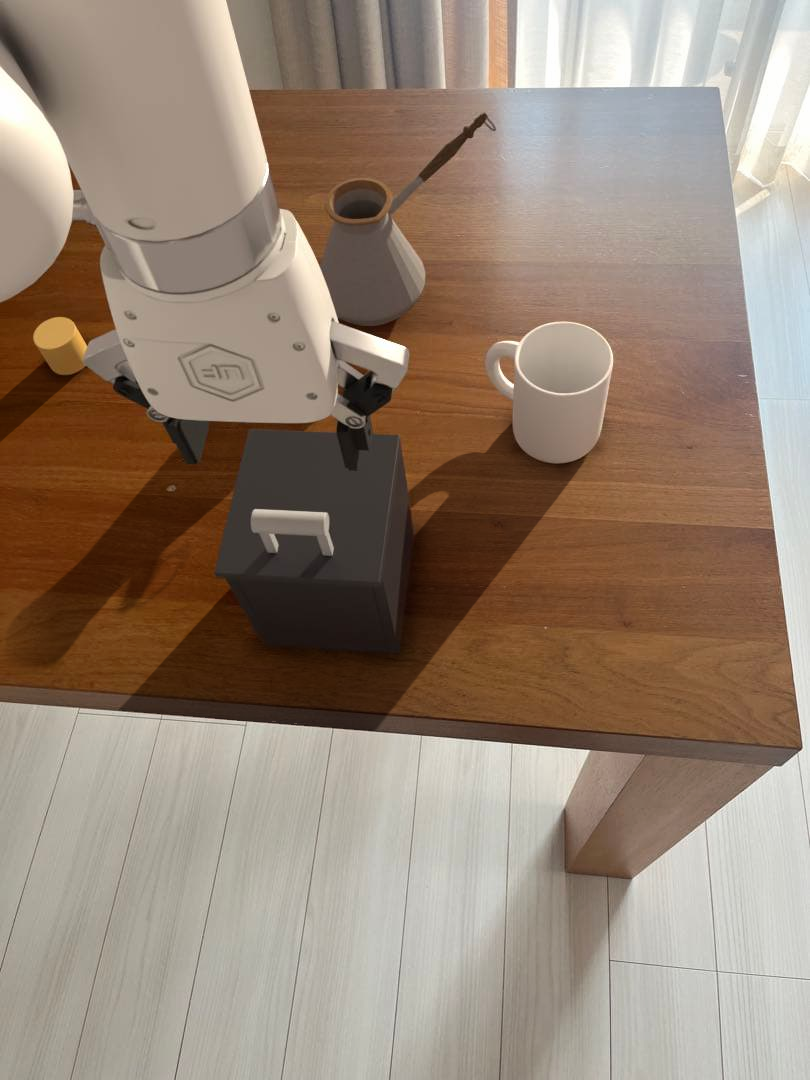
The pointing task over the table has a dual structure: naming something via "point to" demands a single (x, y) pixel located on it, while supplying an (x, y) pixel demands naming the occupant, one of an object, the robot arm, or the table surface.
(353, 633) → the dark grey storage bin
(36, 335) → the cylinder
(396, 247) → the coffee pot
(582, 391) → the mug
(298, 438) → the chamber lid
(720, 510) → the table surface
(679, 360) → the table surface
